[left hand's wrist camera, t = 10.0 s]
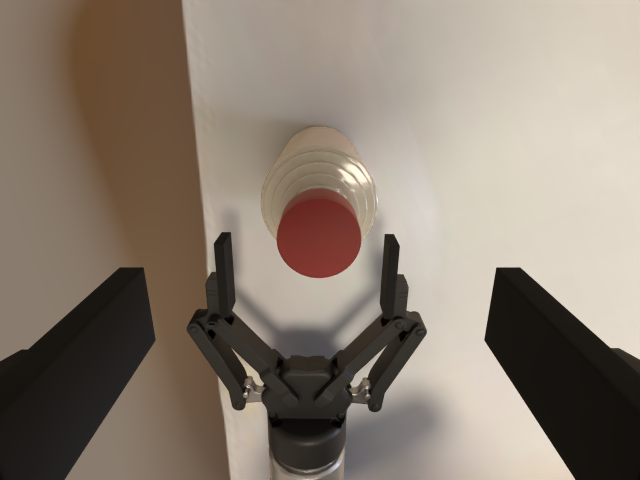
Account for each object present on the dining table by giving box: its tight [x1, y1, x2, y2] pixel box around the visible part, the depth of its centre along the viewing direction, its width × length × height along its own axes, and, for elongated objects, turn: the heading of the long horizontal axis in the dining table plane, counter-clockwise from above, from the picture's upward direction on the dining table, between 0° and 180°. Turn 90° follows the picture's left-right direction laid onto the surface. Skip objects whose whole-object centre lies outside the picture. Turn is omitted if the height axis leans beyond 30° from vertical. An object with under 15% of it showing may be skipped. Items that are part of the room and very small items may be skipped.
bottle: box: [261, 126, 378, 241], centre depth 28 cm, size 7×7×19 cm
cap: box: [277, 188, 361, 278], centre depth 20 cm, size 4×4×2 cm
